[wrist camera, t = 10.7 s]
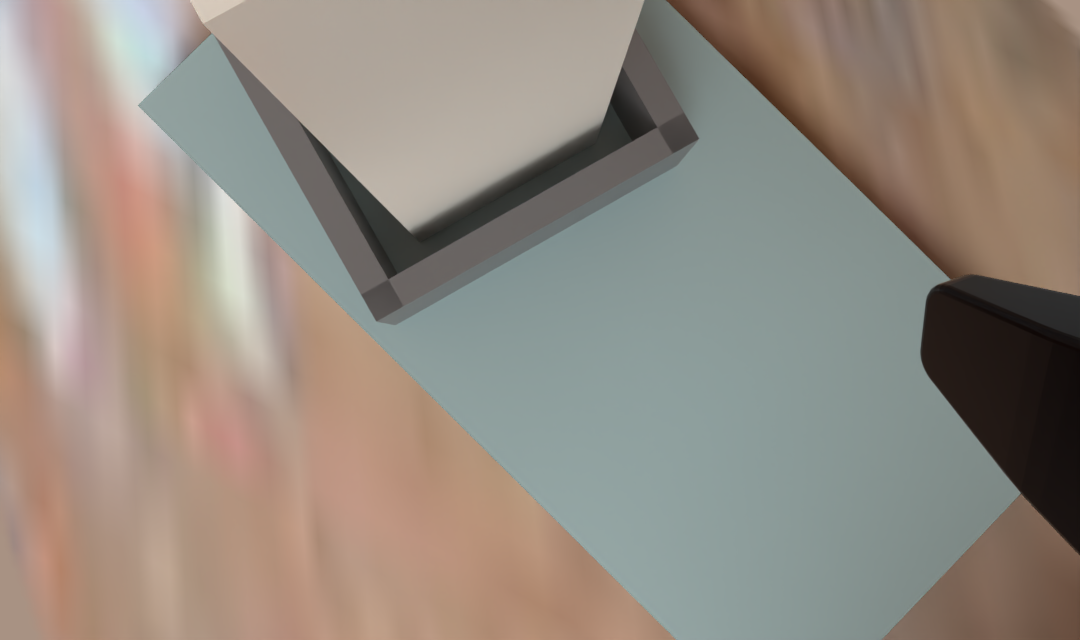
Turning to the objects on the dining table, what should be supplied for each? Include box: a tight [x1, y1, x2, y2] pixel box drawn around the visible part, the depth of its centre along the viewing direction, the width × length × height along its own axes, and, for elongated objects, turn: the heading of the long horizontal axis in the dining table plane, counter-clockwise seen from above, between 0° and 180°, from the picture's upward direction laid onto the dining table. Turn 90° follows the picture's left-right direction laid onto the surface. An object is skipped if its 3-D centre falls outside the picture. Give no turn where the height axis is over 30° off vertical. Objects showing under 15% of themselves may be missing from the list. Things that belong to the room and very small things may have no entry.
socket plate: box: [138, 0, 1021, 640], centre depth 19 cm, size 20×10×4 cm, turn 45°
